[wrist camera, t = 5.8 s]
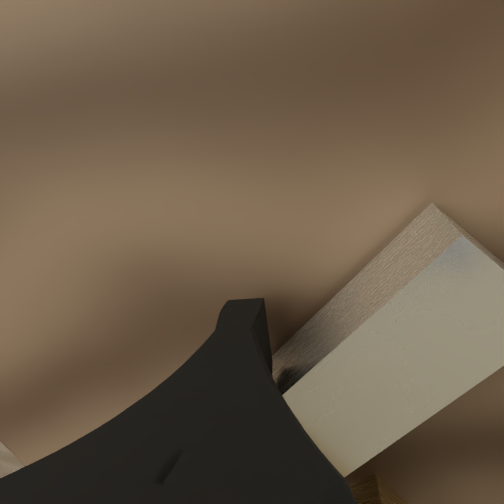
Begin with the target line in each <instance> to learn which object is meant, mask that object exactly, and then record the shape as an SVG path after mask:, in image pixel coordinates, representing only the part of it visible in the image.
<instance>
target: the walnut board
mask: <svg viewBox="0 0 504 504" xmlns="http://www.w3.org/2000/svg"><path fill="white" fill-rule="evenodd" d="M431 203H433V204H434V205H436V206H437V207H438V208H439V209H440V210H441V211H443V212H444V213H445V214H446V215H447V216H449V217H450V218H451V219H452V220H453V221H454V222H456V223H457V224H458V225H459V226H460V227H462V228H463V229H464V230H465V231H466V232H467V233H469V234H470V235H471V236H472V237H473V238H474V239H476V240H477V241H478V242H479V243H480V244H482V245H483V246H484V247H485V248H486V249H487V250H489V251H490V252H491V253H492V254H493V255H495V256H496V257H497V258H498V259H499V260H500V261H502V262H503V263H504V0H0V441H1V442H2V443H3V444H4V445H5V446H6V447H7V448H8V449H9V450H10V451H11V452H12V453H13V454H14V455H15V456H16V457H17V459H18V460H19V461H20V462H21V463H22V464H23V465H24V466H27V465H30V464H32V463H34V462H36V461H38V460H40V459H42V458H44V457H46V456H48V455H50V454H52V453H54V452H56V451H58V450H59V449H61V448H63V447H65V446H67V445H69V444H71V443H72V442H74V441H76V440H77V439H79V438H81V437H83V436H84V435H86V434H88V433H90V432H91V431H93V430H95V429H96V428H98V427H100V426H101V425H103V424H104V423H106V422H108V421H109V420H111V419H112V418H114V417H115V416H117V415H118V414H120V413H121V412H123V411H124V410H125V409H127V408H128V407H130V406H131V405H133V404H134V403H135V402H137V401H138V400H140V399H141V398H143V397H144V396H145V395H147V394H148V393H149V392H151V391H152V390H153V389H155V388H156V387H157V386H158V385H159V384H161V383H162V382H163V381H164V380H166V379H167V378H168V377H169V376H170V375H172V374H173V373H174V372H175V371H176V370H177V369H178V368H179V367H180V366H182V365H183V364H184V363H185V362H186V361H187V360H188V359H189V358H190V357H191V356H192V355H193V354H194V353H195V352H196V351H197V350H198V349H199V348H200V347H201V345H202V344H203V343H204V342H205V341H206V340H207V339H208V338H209V336H210V335H211V334H212V333H213V332H214V331H215V328H216V324H217V320H218V317H219V313H220V311H221V309H222V308H223V306H224V305H225V303H226V302H227V301H228V300H236V299H252V298H264V301H265V309H266V316H267V324H268V331H269V338H270V346H271V353H272V356H273V355H274V354H275V353H276V352H277V351H278V350H279V349H280V348H281V347H282V346H283V345H284V344H286V343H287V342H288V341H289V340H290V339H291V338H292V337H293V336H294V335H295V334H296V333H297V332H298V331H299V330H300V329H301V328H302V327H303V326H304V325H305V324H306V323H307V322H308V321H309V320H310V319H311V318H313V317H314V316H315V315H316V314H317V313H318V312H319V311H320V310H321V309H322V308H323V307H324V306H325V305H326V304H327V303H328V302H329V301H330V300H331V299H332V298H333V297H334V296H335V295H336V294H337V293H338V292H340V291H341V290H342V289H343V288H344V287H345V286H346V285H347V284H348V283H349V282H350V281H351V280H352V279H353V278H354V277H355V276H356V275H357V274H358V273H359V272H360V271H361V270H362V269H363V268H364V267H366V266H367V265H368V264H369V263H370V262H371V261H372V260H373V259H374V258H375V257H376V256H377V255H378V254H379V253H380V252H381V251H382V250H383V249H384V248H385V247H386V246H387V245H388V244H389V243H390V242H391V241H393V240H394V239H395V238H396V237H397V236H398V235H399V234H400V233H401V232H402V231H403V230H404V229H405V228H406V227H407V226H408V225H409V224H410V223H411V222H412V221H413V220H414V219H415V218H416V217H417V216H418V215H420V214H421V213H422V212H423V211H424V210H425V209H426V208H427V207H428V206H429V205H430V204H431ZM374 474H376V475H377V476H378V477H379V478H380V479H381V480H382V481H383V482H384V483H385V484H387V485H388V486H389V487H390V488H391V489H392V490H393V491H394V492H395V493H396V494H397V495H398V496H399V497H400V498H401V499H402V500H403V501H404V502H405V503H406V504H504V366H503V367H501V368H500V369H498V370H497V371H496V372H494V373H493V374H491V375H490V376H488V377H487V378H486V379H484V380H483V381H481V382H480V383H478V384H477V385H476V386H474V387H473V388H471V389H470V390H468V391H467V392H466V393H464V394H463V395H461V396H460V397H458V398H457V399H456V400H454V401H453V402H451V403H450V404H448V405H447V406H446V407H444V408H443V409H441V410H440V411H438V412H437V413H436V414H434V415H433V416H431V417H430V418H428V419H427V420H426V421H424V422H423V423H421V424H420V425H418V426H417V427H416V428H414V429H413V430H411V431H410V432H408V433H407V434H406V435H404V436H403V437H401V438H400V439H398V440H397V441H396V442H394V443H393V444H391V445H390V446H388V447H387V448H386V449H384V450H383V451H381V452H380V453H378V454H377V455H376V456H374V457H373V458H371V459H370V460H368V461H367V462H366V463H364V464H363V465H361V466H360V467H358V468H357V469H356V470H354V471H353V472H351V473H350V474H348V475H347V476H346V477H344V478H345V479H346V481H347V483H348V485H351V484H354V483H356V482H358V481H360V480H363V479H365V478H367V477H369V476H372V475H374Z"/></svg>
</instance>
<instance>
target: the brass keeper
mask: <svg viewBox="0 0 504 504" xmlns="http://www.w3.org/2000/svg"><path fill="white" fill-rule="evenodd" d="M349 487H350V490H351V492H352V494H353V496H354V498H355V500H356V502H357V504H406V503H405V502H404V501H403V500H402V499H401V498H400V497H399V496H398V495H397V494H396V493H395V492H394V491H393V490H392V489H391V488H390V487H389V486H388V485H387V484H385V483H384V482H383V481H382V480H381V479H380V478H379V477H378V476H377V475H376V474H374V475H372V476H369V477H367V478H365V479H363V480H360V481H358V482H356V483H354V484H351V485H349Z"/></svg>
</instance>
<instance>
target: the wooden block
mask: <svg viewBox="0 0 504 504" xmlns="http://www.w3.org/2000/svg"><path fill="white" fill-rule="evenodd" d="M272 360H273V365H272V377H273V379H274V381H275V383H276V385H277V387H278V389H279V390H280V392H281V394H282V396H283V397H284V399H285V401H286V403H287V404H288V406H289V407H290V409H291V410H292V412H293V413H294V415H295V416H296V418H297V419H298V421H299V422H300V424H301V425H302V427H303V428H304V430H305V431H306V433H307V434H308V435H309V436H310V438H311V439H312V440H313V442H314V443H315V444H316V445H317V447H318V448H319V449H320V451H321V452H322V453H323V454H324V455H325V456H326V458H327V459H328V460H329V461H330V462H331V464H332V465H333V466H334V467H335V468H336V469H337V470H338V471H339V472H340V473H341V475H342V476H343V477H346V476H347V475H348V474H350V473H351V472H353V471H354V470H356V469H357V468H358V467H360V466H361V465H363V464H364V463H366V462H367V461H368V460H370V459H371V458H373V457H374V456H376V455H377V454H378V453H380V452H381V451H383V450H384V449H386V448H387V447H388V446H390V445H391V444H393V443H394V442H396V441H397V440H398V439H400V438H401V437H403V436H404V435H406V434H407V433H408V432H410V431H411V430H413V429H414V428H416V427H417V426H418V425H420V424H421V423H423V422H424V421H426V420H427V419H428V418H430V417H431V416H433V415H434V414H436V413H437V412H438V411H440V410H441V409H443V408H444V407H446V406H447V405H448V404H450V403H451V402H453V401H454V400H456V399H457V398H458V397H460V396H461V395H463V394H464V393H466V392H467V391H468V390H470V389H471V388H473V387H474V386H476V385H477V384H478V383H480V382H481V381H483V380H484V379H486V378H487V377H488V376H490V375H491V374H493V373H494V372H496V371H497V370H498V369H500V368H501V367H503V366H504V263H503V262H502V261H500V260H499V259H498V258H497V257H496V256H495V255H493V254H492V253H491V252H490V251H489V250H487V249H486V248H485V247H484V246H483V245H482V244H480V243H479V242H478V241H477V240H476V239H474V238H473V237H472V236H471V235H470V234H469V233H467V232H466V231H465V230H464V229H463V228H462V227H460V226H459V225H458V224H457V223H456V222H454V221H453V220H452V219H451V218H450V217H449V216H447V215H446V214H445V213H444V212H443V211H441V210H440V209H439V208H438V207H437V206H436V205H434V204H433V203H431V204H430V205H429V206H428V207H427V208H426V209H425V210H424V211H423V212H422V213H421V214H420V215H418V216H417V217H416V218H415V219H414V220H413V221H412V222H411V223H410V224H409V225H408V226H407V227H406V228H405V229H404V230H403V231H402V232H401V233H400V234H399V235H398V236H397V237H396V238H395V239H394V240H393V241H391V242H390V243H389V244H388V245H387V246H386V247H385V248H384V249H383V250H382V251H381V252H380V253H379V254H378V255H377V256H376V257H375V258H374V259H373V260H372V261H371V262H370V263H369V264H368V265H367V266H366V267H364V268H363V269H362V270H361V271H360V272H359V273H358V274H357V275H356V276H355V277H354V278H353V279H352V280H351V281H350V282H349V283H348V284H347V285H346V286H345V287H344V288H343V289H342V290H341V291H340V292H338V293H337V294H336V295H335V296H334V297H333V298H332V299H331V300H330V301H329V302H328V303H327V304H326V305H325V306H324V307H323V308H322V309H321V310H320V311H319V312H318V313H317V314H316V315H315V316H314V317H313V318H311V319H310V320H309V321H308V322H307V323H306V324H305V325H304V326H303V327H302V328H301V329H300V330H299V331H298V332H297V333H296V334H295V335H294V336H293V337H292V338H291V339H290V340H289V341H288V342H287V343H286V344H284V345H283V346H282V347H281V348H280V349H279V350H278V351H277V352H276V353H275V354H274V355H273V356H272Z"/></svg>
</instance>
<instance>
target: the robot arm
mask: <svg viewBox="0 0 504 504" xmlns="http://www.w3.org/2000/svg"><path fill="white" fill-rule="evenodd" d="M272 365H273V360H272V353H271V346H270V338H269V331H268V324H267V316H266V309H265V301H264V298H252V299H236V300H228V301H227V302H226V303H225V305H224V306H223V308H222V309H221V311H220V313H219V317H218V320H217V324H216V328H215V331H214V332H213V333H212V334H211V335H210V336H209V338H208V339H207V340H206V341H205V342H204V343H203V344H202V345H201V347H200V348H199V349H198V350H197V351H196V352H195V353H194V354H193V355H192V356H191V357H190V358H189V359H188V360H187V361H186V362H185V363H184V364H183V365H182V366H180V367H179V368H178V369H177V370H176V371H175V372H174V373H173V374H172V375H170V376H169V377H168V378H167V379H166V380H164V381H163V382H162V383H161V384H159V385H158V386H157V387H156V388H155V389H153V390H152V391H151V392H149V393H148V394H147V395H145V396H144V397H143V398H141V399H140V400H138V401H137V402H135V403H134V404H133V405H131V406H130V407H128V408H127V409H125V410H124V411H123V412H121V413H120V414H118V415H117V416H115V417H114V418H112V419H111V420H109V421H108V422H106V423H104V424H103V425H101V426H100V427H98V428H96V429H95V430H93V431H91V432H90V433H88V434H86V435H84V436H83V437H81V438H79V439H77V440H76V441H74V442H72V443H71V444H69V445H67V446H65V447H63V448H61V449H59V450H58V451H56V452H54V453H52V454H50V455H48V456H46V457H44V458H42V459H40V460H38V461H36V462H34V463H32V464H30V465H27V466H25V467H23V468H21V469H19V470H17V471H15V472H13V473H11V474H9V475H7V476H5V477H3V478H0V504H357V502H356V500H355V498H354V496H353V494H352V492H351V490H350V487H349V485H348V483H347V481H346V479H345V478H344V477H343V476H342V475H341V473H340V472H339V471H338V470H337V469H336V468H335V467H334V466H333V465H332V464H331V462H330V461H329V460H328V459H327V458H326V456H325V455H324V454H323V453H322V452H321V451H320V449H319V448H318V447H317V445H316V444H315V443H314V442H313V440H312V439H311V438H310V436H309V435H308V434H307V433H306V431H305V430H304V428H303V427H302V425H301V424H300V422H299V421H298V419H297V418H296V416H295V415H294V413H293V412H292V410H291V409H290V407H289V406H288V404H287V403H286V401H285V399H284V397H283V396H282V394H281V392H280V390H279V389H278V387H277V385H276V383H275V381H274V379H273V377H272Z"/></svg>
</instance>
